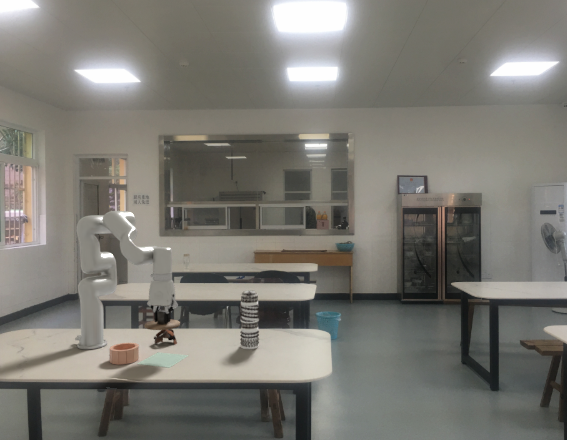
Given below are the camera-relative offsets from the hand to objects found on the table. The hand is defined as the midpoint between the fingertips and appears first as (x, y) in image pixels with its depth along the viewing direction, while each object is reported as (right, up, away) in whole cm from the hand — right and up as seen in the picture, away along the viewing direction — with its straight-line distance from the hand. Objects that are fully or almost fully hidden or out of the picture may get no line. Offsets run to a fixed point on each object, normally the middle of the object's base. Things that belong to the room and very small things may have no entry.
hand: (162, 321), depth 177 cm
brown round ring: (-4, -16, +23) cm, 29 cm away
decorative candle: (+34, -16, +19) cm, 42 cm away
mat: (0, -16, 0) cm, 16 cm away
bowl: (-15, -16, 0) cm, 22 cm away
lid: (0, -2, 0) cm, 2 cm away
